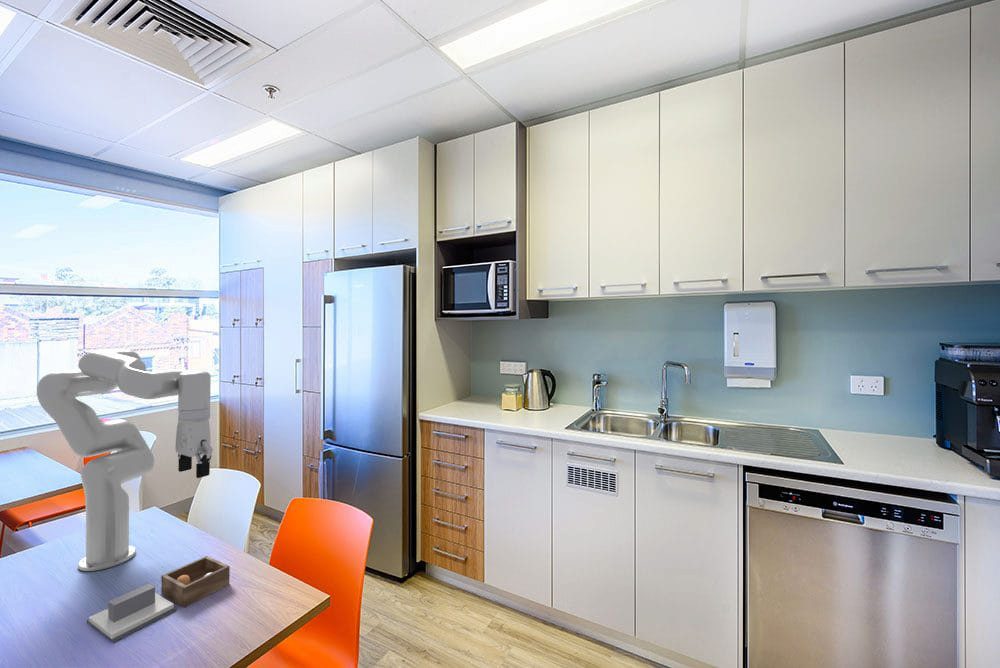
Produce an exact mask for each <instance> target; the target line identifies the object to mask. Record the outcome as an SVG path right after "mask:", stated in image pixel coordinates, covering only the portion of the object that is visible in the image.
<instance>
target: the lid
mask: <svg viewBox="0 0 1000 668" xmlns="http://www.w3.org/2000/svg"><path fill="white" fill-rule="evenodd" d="M107 605H108V607H107V608H106V609H104V610H102V611H99V612H97V613H95V614H92V615H91V616H90V615H89V617H88V619H89V622H90V623H91V624H93V625H94V626H95V627H97V628H98V629H99V630H101V631H102V632H103V633H104V634H106V635H107V636H108V637H110V638H111V639H113V638H115V637H117V636H119V635H121V634H123V633H125V632H127V631H129V630H131V629H133V628H135V627H137V626H139V625H141V624H143V623H145V622H147V621H149V620H151V619H153V618H155V617H157V616H159V615H161V614H163V613H165V612H167V611H169V610H171V609H173V608H175V607H174V606H175V603H174V602H173V601H171V600H169V599H167V598H166V597H164V596H162V595H161V594H158V593H156V586H155V585H153V584H151V583H147V584H145V585H142V586H141V587H138V588H135V589H134V590H130V591H129V592H127V593H125V594H122V595H119V596H117V597H115V598H113V599H111V600H108V602H107Z"/></svg>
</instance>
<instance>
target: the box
mask: <svg viewBox="0 0 1000 668" xmlns="http://www.w3.org/2000/svg"><path fill="white" fill-rule="evenodd" d="M230 569H231V568H230V565H228V564H225V563H223V562H221V561H219V560H217V559H215V558H212V557H210V556H209V555H205V556H203V557H200V558H198V559H196V560H193V561H192V562H190V563H187V564H185V565H183V566H180V567H178V568H176V569H173V570H171V571H169V572H166V573H165V574H162V575H161V577H160V578H161V579H160V582H161V583H160V584H161V590H160V592H161V593H160V596H162V597H164V598H165V599H167V600H169V601H170V602H172V603H174V604H176V605H178V606H180V607H182V608H183V609H185V608H186V607H189V606H191V605H192V604H194V603H197V602H199V601H201V600H202V599H203V598H206V597H208V596H210V595H211V594H215V592H218V591H219V590H221V589H223V588H225V587H228V586H229V585H230ZM210 572H213V573H211V574H209V575H207V576H205V575H206V574H207V573H210ZM182 575H188V576H189V577H190V583H189V584H188V585H184V584H182V583H181V582H179V581H177V578H178V577H180V576H182ZM204 576H205V577H204Z"/></svg>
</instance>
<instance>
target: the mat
mask: <svg viewBox="0 0 1000 668" xmlns="http://www.w3.org/2000/svg"><path fill="white" fill-rule="evenodd" d="M176 611H177V609H176V608H175V607H174V608H173V609H171V610H169V611H167V612H165V613H163V614H161V615H159V616H157V617H155V618H153V619H151V620H149V621H147V622H145V623H143V624H141V625H139V626H137V627H135V628H133V629H131V630H129V631H127V632H125V633H123V634H121V635H119V636H117V637H115V638H113V639H111V638H110V637H108V636H107V635H106V634H104V633H103V632H102V631H101V630H99V629H98V628H97V627H95V626H94V625H93V624H91V623H90V622H89V618H88V619H87V620H86V623H88V624H89V625H90V626H92V627H93V628H94V629H96V630H97V631H98V632H99V633H101V634H102V635H103V636H104V637H106V638H108V639H109V640H110V641H111V642H113V643H117V642H119V641H120V640H122V639H124V638H126V637H128V636H130V635H132V634H134V633H136V632H138V631H139V630H141V629H143V628H146V627H148V626H149V625H151V624H153V623H155V622H157V621H159V620H161V619H164V617H168V615H171V614H173V613H174V612H176Z"/></svg>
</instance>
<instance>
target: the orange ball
mask: <svg viewBox="0 0 1000 668" xmlns="http://www.w3.org/2000/svg"><path fill="white" fill-rule="evenodd" d="M177 581H179V582H181V583H182V584H184V585H188V584H189V583H190V577H189V576H188V575H182V576H180V577H178V578H177Z"/></svg>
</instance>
